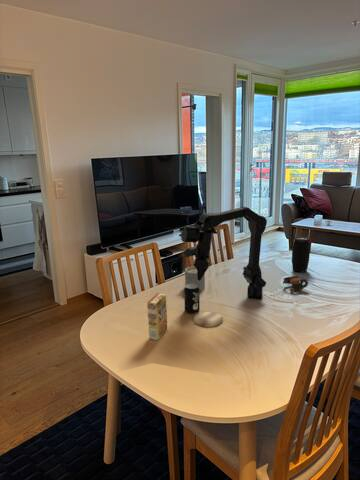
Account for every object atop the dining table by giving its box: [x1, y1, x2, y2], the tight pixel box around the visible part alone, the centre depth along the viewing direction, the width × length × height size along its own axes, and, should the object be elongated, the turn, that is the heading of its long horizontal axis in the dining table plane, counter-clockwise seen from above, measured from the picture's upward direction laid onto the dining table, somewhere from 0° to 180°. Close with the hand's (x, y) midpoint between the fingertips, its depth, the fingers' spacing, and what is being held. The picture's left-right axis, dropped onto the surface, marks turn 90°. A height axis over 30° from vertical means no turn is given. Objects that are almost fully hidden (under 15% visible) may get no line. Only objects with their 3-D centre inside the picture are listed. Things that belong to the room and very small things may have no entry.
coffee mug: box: [184, 266, 206, 293], centre depth 184 cm, size 13×10×10 cm
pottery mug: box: [282, 275, 309, 294], centre depth 179 cm, size 12×10×8 cm
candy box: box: [146, 293, 168, 341], centre depth 138 cm, size 9×4×15 cm, turn 158°
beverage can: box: [183, 283, 201, 315], centre depth 157 cm, size 7×7×12 cm
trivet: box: [193, 311, 224, 328], centre depth 150 cm, size 12×12×1 cm
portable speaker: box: [291, 235, 311, 274], centre depth 203 cm, size 9×9×20 cm
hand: (199, 277), depth 158 cm, fingers open, 9 cm apart
